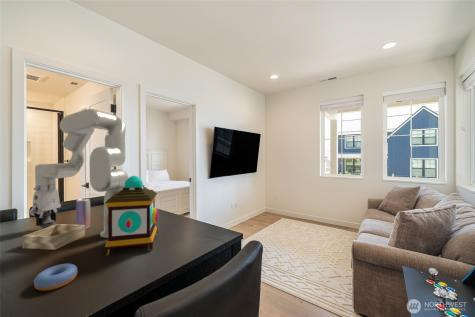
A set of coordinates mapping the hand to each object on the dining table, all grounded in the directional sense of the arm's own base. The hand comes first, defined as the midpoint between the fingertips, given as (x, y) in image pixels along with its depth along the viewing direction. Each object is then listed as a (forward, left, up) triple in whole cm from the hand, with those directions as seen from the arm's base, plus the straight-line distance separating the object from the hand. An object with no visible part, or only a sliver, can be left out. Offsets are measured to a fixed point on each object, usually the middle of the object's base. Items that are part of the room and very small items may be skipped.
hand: (46, 223), depth 103 cm
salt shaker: (0, 0, -3) cm, 3 cm away
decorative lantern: (-53, +12, -4) cm, 55 cm away
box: (-17, +12, -4) cm, 22 cm away
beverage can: (-15, -5, -4) cm, 17 cm away
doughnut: (-45, +39, -4) cm, 60 cm away
